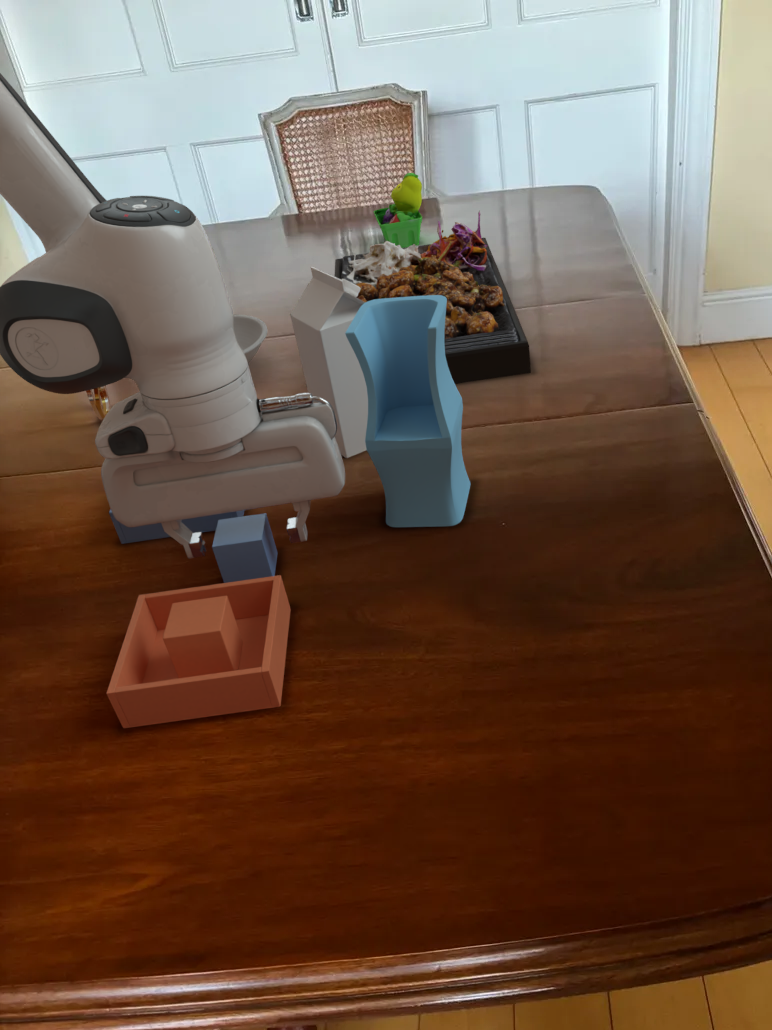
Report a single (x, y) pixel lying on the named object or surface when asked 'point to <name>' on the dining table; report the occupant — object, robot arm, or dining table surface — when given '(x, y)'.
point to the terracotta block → (203, 637)
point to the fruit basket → (402, 213)
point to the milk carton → (333, 355)
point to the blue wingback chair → (412, 409)
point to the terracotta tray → (166, 698)
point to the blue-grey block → (245, 548)
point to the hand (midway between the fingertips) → (248, 546)
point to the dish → (249, 333)
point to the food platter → (450, 298)
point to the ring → (99, 401)
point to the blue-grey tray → (158, 532)
